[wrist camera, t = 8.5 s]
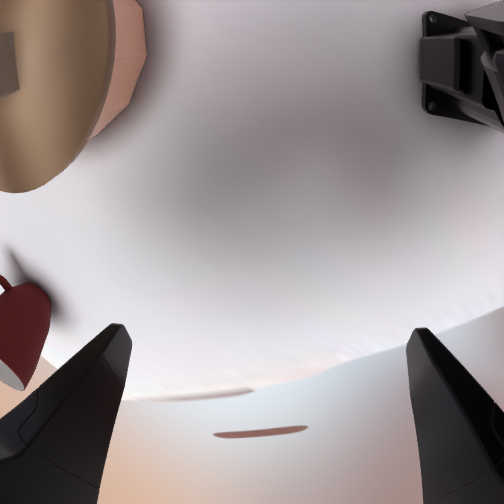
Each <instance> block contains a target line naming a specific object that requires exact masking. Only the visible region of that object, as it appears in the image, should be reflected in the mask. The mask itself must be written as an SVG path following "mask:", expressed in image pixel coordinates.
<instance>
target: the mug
mask: <svg viewBox="0 0 504 504" xmlns="http://www.w3.org/2000/svg"><path fill="white" fill-rule="evenodd" d="M0 285H1V286H2V287H3V288H4V290H5V291H4V292H3V293H2V294H1V295H0V381H2V382H3V383H5V384H7V385H8V386H10V387H12V388H14V389H16V390H20V391H23V390H25V388H26V387H27V385H28V383H29V381H30V379H31V377H32V375H33V373H34V371H35V369H36V366H37V364H38V361H39V357H40V355H41V352H42V349H43V346H44V343H45V340H46V337H47V335H48V332H49V327H50V317H51V302H50V299H49V298H48V296H47V294H46V293H45V292H44V291H43V290H42V289H41V288H40V287H38V286H37V285H35V284H33V283H24V284H21V285H18V286H14V287H12V286H11V285H10V284H9V282H8V281H7V280H6V279H5V278H4V277H3V276H2V275H0Z"/></svg>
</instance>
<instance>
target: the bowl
mask: <svg viewBox="0 0 504 504" xmlns="http://www.w3.org/2000/svg"><path fill="white" fill-rule="evenodd" d="M112 1H113V6H114V13H115V20H116V47H115V60H114V66H113V72H112V78H111V82H110V86H109V90H108V94H107V98H106V101H105V104H104V106H103V109H102V112H101V115H100V118H99V120H98V122H97V124H96V126H95V128H94V130H93V133H92V135H91V136H90V138H89V139H88V140H90V139H91V138H93V137H95V136H97V135H98V134H99V133H100V132H101V131H102V130H103V129H104V128H105V127H106V126H107V125H108V124H109V123H110V122H111V121H112V120H113V119H114V118H115V117H116V116H117V115H118V114H119V113H120V112H121V111H122V110H123V109H124V108H126V107H127V106H128V105H129V103H130V100H131V97H132V94H133V91H134V89H135V86H136V83H137V81H138V78H139V75H140V73H141V70H142V68H143V65H144V63H145V60H146V58H147V52H146V42H145V32H144V20H143V9H142V7H141V6H140V5H139V4H138V3H137V2H136V0H112Z"/></svg>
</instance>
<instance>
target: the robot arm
mask: <svg viewBox="0 0 504 504" xmlns="http://www.w3.org/2000/svg"><path fill="white" fill-rule="evenodd" d="M464 15H465V17H466V19H467V21H468V22H466V21H463V20H460V19H457V18H454V17H451V16H448V15H445V14H441V13H438V12H434V11H428V12H425V13H424V14H423V35H424V38H422V39H421V80H422V81H423V98H422V107H423V109H424V111H425V112H427V113H429V114H431V115H437V116H443V117H448V118H454V119H459V120H464V121H469V122H473V123H478V124H482V125H486V126H490V127H492V128H494V129H496V130H498V131H500V132H502V133H504V0H502V1H499V2H496V3H493V4H490V5H487V6H485V7H482V8H479V9H476V10H474V11H471V12H468V13H466V14H464ZM430 16H432V17H433V18H434V22H431V21H430V18H429V17H430ZM431 102H432V104H433V107H432V109H429V107H428V106H429V103H431ZM131 350H132V340H131V338H130V336H129V334H128V332H127V330H126V328H125V326H124V325H123V324H117V323H112V324H110V325H109V326H107V327H106V328H105V329H104V330H103V331H102V332H100V333H99V334H98V335H97V336H96V337H95V338H93V339H92V340H91V341H90V342H89V343H88V344H87V345H85V346H84V347H83V348H82V349H81V350H80V351H78V352H77V353H76V354H75V355H74V356H73V357H72V358H70V359H69V360H68V361H67V362H66V363H65V364H64V365H63V366H61V367H60V368H59V369H58V370H57V371H56V372H55V373H54V374H52V376H50V377H49V378H48V379H47V380H46V381H45V382H44V383H42V384H41V385H40V386H39V388H37V389H36V390H35V391H34V392H32V393H31V394H30V395H29V396H28V397H27V398H26V399H25V400H23V401H22V402H21V403H20V404H19V405H17V406H16V407H15V408H14V409H12V410H11V411H10V412H8V413H7V414H6V415H5V416H3V417H2V418H1V419H0V504H97V500H98V495H99V488H100V484H101V479H102V474H103V469H104V465H105V461H106V457H107V452H108V448H109V444H110V440H111V436H112V432H113V428H114V424H115V420H116V416H117V413H118V409H119V405H120V402H121V398H122V395H123V391H124V387H125V382H126V377H127V371H128V366H129V360H130V355H131ZM406 355H407V365H408V375H409V388H410V397H411V403H412V409H413V414H414V421H415V427H416V434H417V441H418V449H419V457H420V466H421V476H422V489H423V504H504V412H503V411H502V409H501V408H500V407H499V406H498V405H497V403H494V400H493V399H492V398H491V397H490V395H489V394H488V393H487V392H486V391H485V390H484V388H483V387H482V386H481V385H480V384H479V383H478V382H477V381H476V380H475V378H474V377H473V376H472V375H471V374H470V373H469V372H468V370H467V369H466V368H465V367H464V366H463V365H462V364H461V363H460V362H459V361H458V360H457V359H456V357H454V355H453V354H452V353H451V352H450V351H449V350H448V349H447V348H446V347H445V346H444V345H443V344H442V342H440V340H439V339H438V338H437V337H436V336H435V335H434V334H433V333H432V332H431V331H430V330H429V329H428V328H425V327H423V328H415V329H414V330H413V332H412V335H411V337H410V339H409V341H408V343H407V347H406Z"/></svg>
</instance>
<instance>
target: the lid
mask: <svg viewBox="0 0 504 504" xmlns="http://www.w3.org/2000/svg"><path fill="white" fill-rule="evenodd" d="M115 47H116V20H115V13H114V6H113V1H112V0H0V191H3V192H9V193H23V192H28V191H31V190H35V189H37V188H39V187H41V186H43V185H45V184H46V183H47V182H49V181H50V180H51V179H53V178H54V177H55V176H57V175H58V174H60V173H61V172H62V171H64V170H65V169H66V168H67V167H68V166H69V165H70V164H71V163H72V162H73V161H74V160H75V158H76V157H77V156H78V154H79V153H80V152H81V151H82V149H83V148H84V146H85V144H86V143H87V141H88V139H89V138H90V136H91V135H92V133H93V130H94V128H95V126H96V124H97V122H98V120H99V118H100V115H101V112H102V109H103V106H104V104H105V101H106V98H107V94H108V90H109V86H110V82H111V78H112V72H113V66H114V60H115Z"/></svg>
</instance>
